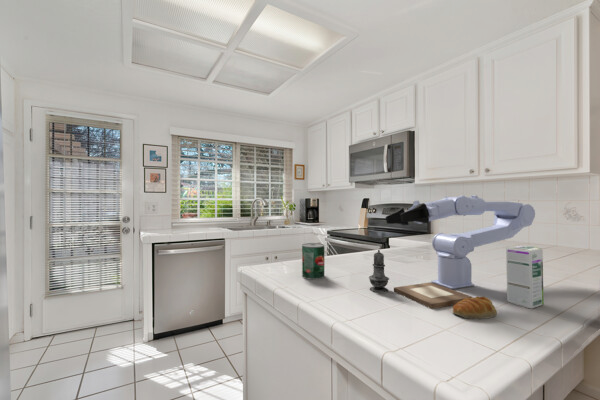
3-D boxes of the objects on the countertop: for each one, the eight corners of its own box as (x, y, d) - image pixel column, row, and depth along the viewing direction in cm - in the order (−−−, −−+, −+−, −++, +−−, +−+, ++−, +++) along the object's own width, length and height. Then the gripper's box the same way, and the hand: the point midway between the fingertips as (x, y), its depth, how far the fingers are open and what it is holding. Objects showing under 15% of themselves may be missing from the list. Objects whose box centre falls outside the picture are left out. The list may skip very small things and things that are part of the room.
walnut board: (430, 286, 89) (430, 281, 89) (472, 301, 76) (472, 296, 76) (393, 291, 84) (393, 287, 84) (431, 308, 71) (431, 303, 71)
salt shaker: (390, 293, 82) (390, 251, 82) (369, 292, 83) (368, 251, 83) (388, 287, 88) (388, 248, 88) (368, 286, 89) (368, 247, 89)
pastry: (469, 323, 63) (468, 305, 63) (444, 312, 70) (444, 296, 70) (499, 317, 66) (499, 300, 66) (473, 307, 73) (473, 292, 73)
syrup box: (532, 309, 70) (532, 250, 70) (505, 301, 75) (505, 246, 75) (544, 305, 73) (544, 248, 73) (517, 298, 78) (517, 244, 78)
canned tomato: (325, 279, 97) (325, 246, 97) (302, 279, 97) (301, 246, 97) (323, 273, 105) (323, 243, 105) (302, 273, 105) (302, 243, 105)
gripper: (413, 201, 96) (378, 208, 92) (446, 194, 82) (405, 202, 78) (418, 222, 95) (383, 230, 91) (452, 218, 81) (412, 227, 77)
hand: (393, 219), depth 84 cm, fingers open, 7 cm apart
